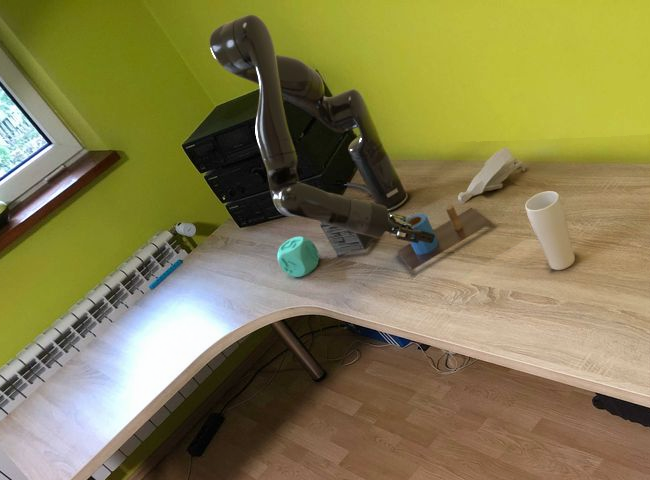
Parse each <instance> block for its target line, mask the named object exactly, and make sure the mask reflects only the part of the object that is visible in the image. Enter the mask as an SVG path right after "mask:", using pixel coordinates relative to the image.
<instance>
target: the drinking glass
mask: <svg viewBox="0 0 650 480" xmlns="http://www.w3.org/2000/svg"><path fill="white" fill-rule="evenodd" d="M524 208H525V211H526V214H527V218H528V220H529V224H530V225H531V228H532V230H533V232H534V234H535V237H536V239H537V241H538V243H539V245H540V247H541V250H542V251H543V253H544V254H543V255H545V258H546V261H547V263H548V265H549V267H550V268H551V269H552V270H555V271H561V270H566V269H568V268H569V267H571V266H572V265H573V264H574V263H575V260H576V256H575V253H574V249H573V244H572V241H571V237H570V232H569V226H568V222H567V215H566V213H565V208H564V206H563V203H562V200H561V197H560V195H559V193H558V192H556V191H553V190H548V191H542V192H539V193H537V194H534V195H533V196H531V197H530V198H529V199H528V200H527V201H526V203H525V205H524Z"/></svg>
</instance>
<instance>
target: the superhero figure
mask: <svg viewBox="0 0 650 480" xmlns="http://www.w3.org/2000/svg"><path fill="white" fill-rule="evenodd" d="M512 165H513V166H512ZM519 168H521V170H522V171H523V172H526V167H525V164H524V163H523V161H519V162H518V159H517V157H514V158H513V156H512V154H511V150H510V148H509V147H503V148H501V149H498V150H497V151H496V152H495V153H493V155H492V156H490V157H489V158H488V159H487V160H486V161H485V163H484V164H483V167H482V169H481V170H480V171H479V172H478V173H476V175H475V176H474V177H473V178H472V180H471V181H470V184H469V185H468V187H467V189H466V191H463V192H460V193H458V198H457V199H458V201H459V202H460V203H461V204H465V203H467V202H468V201H469V200H470V199H471V198H472V197H476V196H477V195H480V194H482V193H484V192H490V191H494V190H497V189H503V183H502V182H504V180H506V179H508V177H509V175H510V174H511V173H514V172H515V171H516V170H517V169H519Z"/></svg>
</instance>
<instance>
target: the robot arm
mask: <svg viewBox="0 0 650 480" xmlns="http://www.w3.org/2000/svg"><path fill="white" fill-rule="evenodd" d="M208 42H209V49H210V51H211V53H212V55H213V57H214V59H215V60H216V62H217V63H218V65H220V66H221V67H222V68H223V69H224V70H226V71H227V72H228V73H230V74H232V75H235V76H237V77H240V78H242V79H245V80H247V81H250V82H252V83H255V84H256V85H259V94H258V95H259V97H258V105H257V111H256V116H255V117H256V118H255V128H254V129H255V136H256V141H257V145H258V148H259V153H260V155H261V158H262V161H263V164H264V166H265V169H266V173H267V174H266V175H267V181H268V185H269V191H270V195H271V199H272V202H273V205H274V207H275V208H276V210H277V211H278V212H279V213H280V214H281V215H282V216H284V217H285V216H286V217H289V218H291V217H299V218H304V219H309V220H314V221H319V222H320V224H321V223H324V224H327V225H330V226H334V227H339V228H342V229H345V230H348V231H351V232H354V233H359V234H363V235H367V236H371V237H374V239H375V238H376V239H379V238H381V237H383V235H384V234H385V233H388V234H389V235H390V236H393V237H395V239H396V240H399V241H405V242H409V243H410V242H415V243H418V242H419V240H420V241H424V242H428V243H432V242H433V240H434V237H435V235H434V234H433V233H429V232H425V231H421V230H419V229H415V228H413V227H412V225H411V224H408V223H406V222H405V221H406V220H407V219H408V218H407V217H406V216H405V215H400V214H397V213H394V212H392V211H395V210H397V209H398V208H400V207H401V206H403V205H405V204H406V202H407V201H408V199H409V195H408V192H407V191H406V189H405V188H404V186H403V184H402V181H401V179H400V177H399V175H398V173H397V170H396V168H395V166H394V164H393V162H392V160H391V158H390V156H389V154H388V151H387V150H386V148H385V146H384V144H383V141H382V139H381V138H380V137H381V136H380V135H379V134H380V133H379V132H378V128H377V126H376V124H375V122H374V120H373V117H372V115H371V112H370V110H369V108H368V105H367V102H366V101H365V98H364V97H363V95H362V94H361V92H360V91H359V90H357V89H356V88H350V89H348V90H346V91H343V92H340V93H338V94H335V95H333V96H326V95H325V85H324V81H323V78H322V77H321V75H320V74H319V73H318V71H316V70H315V69H314V68H313V67H312V66H309V64H307V63H305V62H304V61H303V60H300V59H298V58H295V57H291V56H287V55H282V54H281V55H280V54H276V50H275V44H274V41H273V37H272V35H271V32H270V30H269V28H268V26H267V24H266V23H265V22H264V20H262V19H261V18H260V17H259V16H258V15H256V14H247V15H244V16H240V17H238V18H235V19H234V20H231V21H228V22H225V23H222V24H221V25H219V26H217V27H216V28H215V29H213V31H211V33H210V36H209V41H208ZM284 100H286V101H287V102H289V103H290V104H293V105H294V106H296V107H299V108H300V109H302V110H304V111H305V112H307V113H308V114H310V115H311V116H313V117H315V119H317V120H318V121H319V122H321V123H322V124H323V125H324V126H326V127H327V128H328V129H329V130H331V131H333V132H335V133H337V134H343V133H345V132H348V131H352V130H354V129H356V128H357V129H358V131H359V135H358V136H356V137H355V138H354V139H353V140H352V141H351V142H350V143H349V145H348V148H347V151H348V153H349V155H350V157H351V159H352V161H353V162H354V164H355V166H356V168H357V170H358V172H359V174H360V176H361V178H362V180H363V182H364V184H365V186H364V185H362V184H357V183H351V182H346V183H347V184H344V185H343V187H344V186H346V187H351V188H352V187H353V188H358V189H361V190H363V191H366V192H367V193H368V194H369V195H370V196H371V198H372V199H373V201H374V202H372V201H370V200H369V201H368V200H364V199H360V198H355V197H348V196H344V195H341V194H338V193H334V192H328V191H325V190H323V189H320V188H318V187H315V186H313V185H309V184H307V183H303V182H300V179H299V174H298V170H297V168H298V163H299V161H298V155H297V152H296V148H295V145H294V142H293V138H292V135H291V132H290V128H289V125H288V120H287V116H286V112H285V111H286V110H285V107H284V106H285V105H284ZM406 227H408V229H406ZM412 234H415V236H414V237H413V236H412Z"/></svg>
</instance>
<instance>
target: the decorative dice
mask: <svg viewBox="0 0 650 480" xmlns="http://www.w3.org/2000/svg"><path fill="white" fill-rule="evenodd" d="M317 248H318V247H317V246H316V244H315V243H314V242H313V241H311V239H309V238H307V237H305V236H294V237H292V238H289V239H288V240H286V241H284V242H283V243H282V244H281V245H280V246H279V248H278V251H277V255H276V256H277V262H278V265H279V267H280V268H281V270H282V271H283V272H284V273H285V274H287V275H289V276H291V277H295V278H301V277H305V276H307V275H308V274H310V273H311V272H313V271H314V270H315V269H316V268H317V266H318V264H319V261H320V257H319V256H320V254H319V250H318V249H317Z"/></svg>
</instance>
